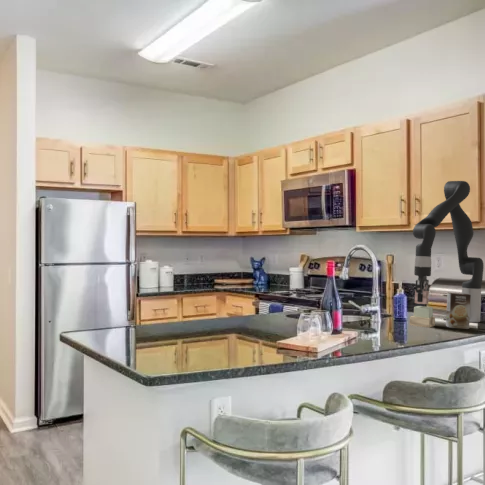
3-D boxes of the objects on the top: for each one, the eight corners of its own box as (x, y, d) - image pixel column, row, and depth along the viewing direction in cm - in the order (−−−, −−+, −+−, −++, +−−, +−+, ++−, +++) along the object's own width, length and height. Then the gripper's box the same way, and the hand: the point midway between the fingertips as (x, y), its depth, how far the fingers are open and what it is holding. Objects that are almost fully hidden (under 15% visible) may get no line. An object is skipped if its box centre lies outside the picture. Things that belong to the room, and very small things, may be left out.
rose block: (417, 302, 260) (418, 290, 260) (428, 303, 257) (428, 290, 258) (414, 303, 256) (415, 290, 256) (425, 304, 253) (425, 291, 253)
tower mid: (417, 315, 261) (418, 306, 261) (432, 316, 257) (432, 307, 257) (413, 316, 256) (413, 307, 256) (428, 318, 252) (428, 308, 252)
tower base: (416, 324, 263) (416, 314, 263) (434, 326, 257) (435, 316, 258) (409, 325, 256) (410, 316, 256) (428, 328, 250) (429, 318, 250)
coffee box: (449, 327, 252) (450, 293, 252) (445, 325, 258) (446, 292, 258) (469, 329, 251) (470, 294, 251) (465, 327, 257) (466, 293, 257)
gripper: (419, 265, 265) (417, 299, 265) (410, 265, 253) (409, 301, 253) (434, 266, 261) (433, 301, 261) (426, 266, 249) (425, 303, 249)
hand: (421, 301), depth 257 cm, fingers closed on rose block, 5 cm apart
